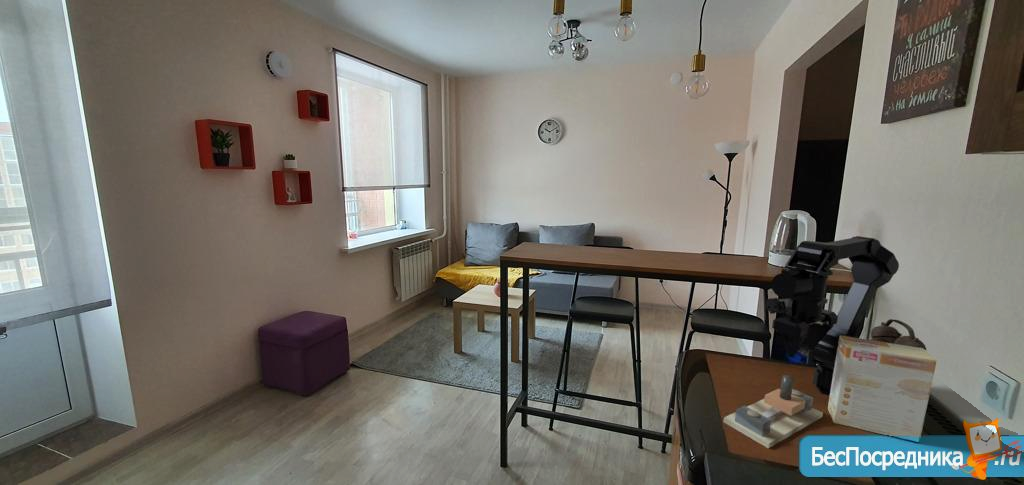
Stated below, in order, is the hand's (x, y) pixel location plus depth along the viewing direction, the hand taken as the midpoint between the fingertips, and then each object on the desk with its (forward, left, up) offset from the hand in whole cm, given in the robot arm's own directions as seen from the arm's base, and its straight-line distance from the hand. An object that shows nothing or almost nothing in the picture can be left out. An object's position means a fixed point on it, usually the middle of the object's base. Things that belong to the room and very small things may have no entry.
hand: (800, 353), depth 98 cm
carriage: (+4, +8, -10) cm, 14 cm away
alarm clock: (-25, -14, -13) cm, 32 cm away
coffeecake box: (-14, +5, -13) cm, 20 cm away
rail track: (+7, +11, -13) cm, 18 cm away
